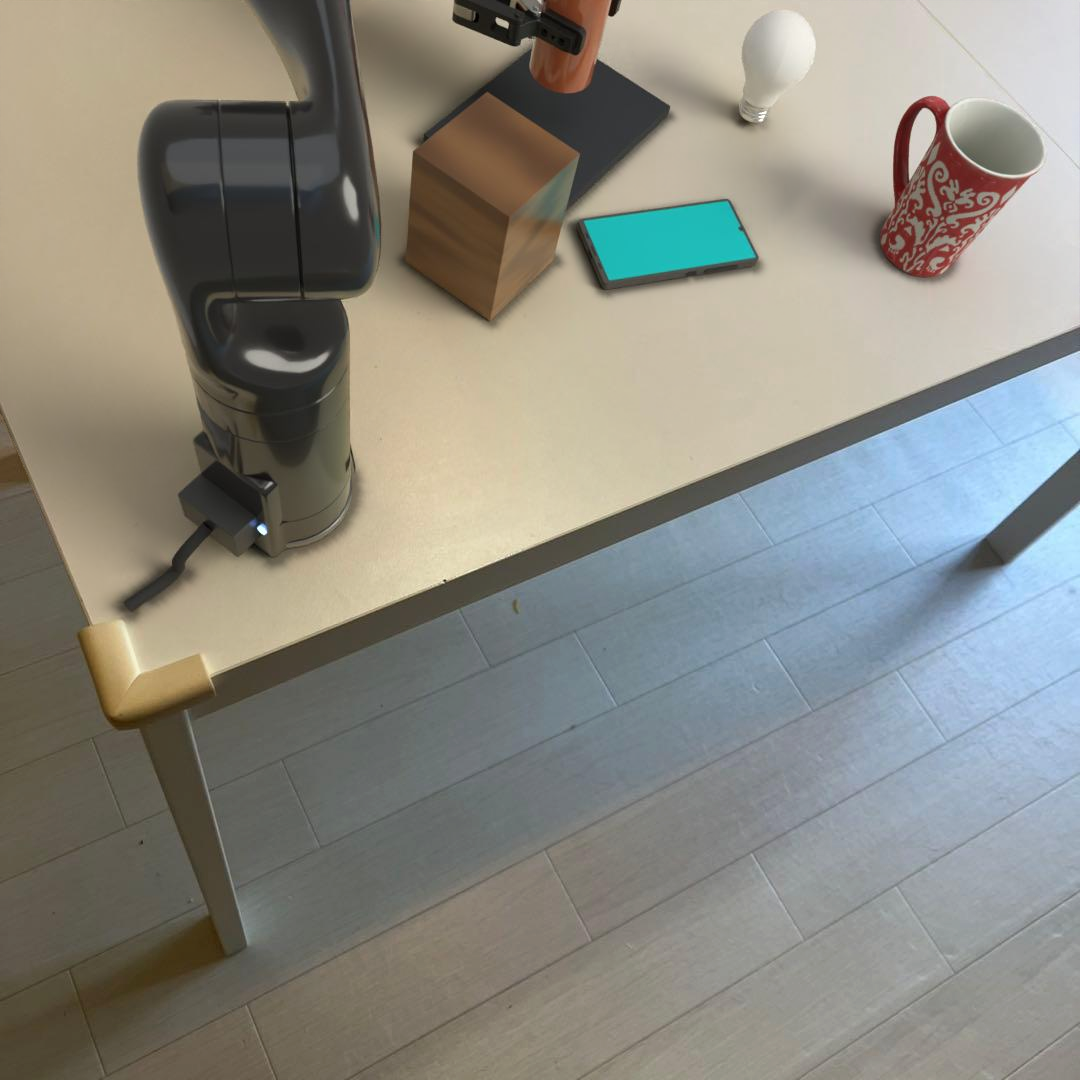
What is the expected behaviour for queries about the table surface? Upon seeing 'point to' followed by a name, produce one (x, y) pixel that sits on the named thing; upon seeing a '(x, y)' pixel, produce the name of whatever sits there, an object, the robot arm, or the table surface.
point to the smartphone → (666, 243)
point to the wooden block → (487, 204)
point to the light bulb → (774, 60)
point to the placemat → (578, 116)
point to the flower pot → (562, 70)
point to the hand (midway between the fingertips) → (600, 23)
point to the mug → (956, 180)
